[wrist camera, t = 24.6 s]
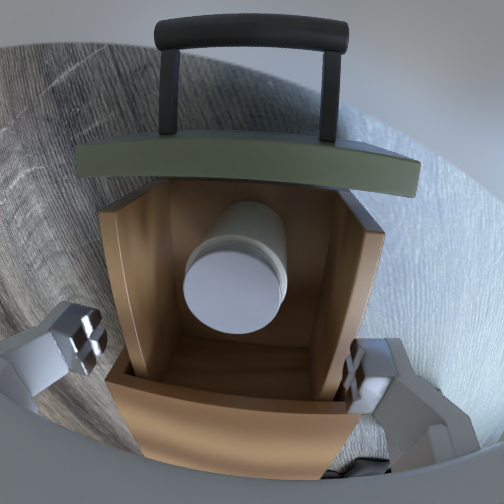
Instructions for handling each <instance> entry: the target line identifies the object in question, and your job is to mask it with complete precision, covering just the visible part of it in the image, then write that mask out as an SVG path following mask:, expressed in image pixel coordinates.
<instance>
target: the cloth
mask: <svg viewBox="0 0 504 504" xmlns="http://www.w3.org/2000/svg"><path fill="white" fill-rule="evenodd" d="M355 463H356V464H355V466H354V467H353V468H352V469H350V470H349V471H348V472H347V473H345V474H338V473H337V472H333V471H325V472H324V474H323V475H322V476H321V478H320V479H319V480H323V479H342V478H355V477H365V476H373V475H381V474H384V473H385V472H386V470H387V468H388V465H389V464H390V461H386V462H377V461H369V460H356V461H355ZM390 473H392V472H390Z"/></svg>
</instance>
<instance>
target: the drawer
mask: <svg viewBox="0 0 504 504" xmlns="http://www.w3.org/2000/svg"><path fill="white" fill-rule="evenodd" d="M154 41H155V45H156V47H157V49H158V50H159V51H161V67H160V87H159V131H150V132H144V133H137V134H131V135H125V136H119V137H114V138H109V139H104V140H99V141H94V142H89V143H85V144H80V145H77V146H76V147H75V158H76V172H77V177H78V178H89V177H123V176H161V177H159V178H158V179H155V180H153V181H151V182H149V183H148V184H146V185H144V186H142V187H140V188H138V189H137V190H135V191H133V192H131V193H129V194H128V195H126V196H124V197H122V198H121V199H119V200H117V201H115V202H114V203H112V204H110V205H109V206H107V207H105V208H104V209H102V210H100V211H99V212H98V216H99V223H100V230H101V237H102V243H103V249H104V254H105V260H106V265H107V270H108V275H109V280H110V285H111V289H112V294H113V298H114V302H115V306H116V310H117V314H118V318H119V322H120V326H121V329H122V333H123V336H124V340H125V343H126V347H127V350H128V353H129V357H130V360H131V363H132V366H133V369H134V372H135V375H136V377H139V378H143V379H147V380H151V381H156V382H160V383H165V384H170V385H175V386H180V387H185V388H191V389H196V390H202V391H209V392H215V393H222V394H230V395H238V396H246V397H256V398H267V399H279V400H296V401H329V402H332V401H333V399H334V397H335V394H336V392H337V389H338V387H339V384H340V382H341V379H342V371H343V365H344V362H345V359H346V357H347V356H349V355H350V354H351V353H350V348H349V347H350V344H351V342H352V340H353V339H354V338H357V336H358V333H359V330H360V327H361V323H362V320H363V317H364V314H365V311H366V308H367V304H368V301H369V297H370V294H371V290H372V287H373V283H374V280H375V276H376V272H377V268H378V264H379V260H380V256H381V252H382V248H383V244H384V239H385V232H384V231H383V230H382V228H381V227H380V226H379V225H378V223H377V222H376V221H375V220H374V218H373V217H372V216H371V215H370V214H369V212H368V211H367V210H366V209H365V208H364V207H363V205H362V204H361V203H360V202H359V201H358V200H357V198H356V197H355V196H354V195H353V194H352V193H351V191H350V190H349V189H354V190H362V191H369V192H376V193H383V194H390V195H396V196H402V197H408V198H415V196H416V190H417V185H418V179H419V173H420V166H421V163H420V162H419V161H417V160H414V159H411V158H409V157H406V156H403V155H400V154H397V153H395V152H392V151H389V150H386V149H383V148H380V147H376V146H373V145H370V144H367V143H363V142H357V141H350V140H343V139H336V134H337V122H338V108H339V92H340V72H341V55H343V54H345V53H346V51H347V48H348V42H349V27H348V24H347V23H346V22H344V21H338V20H332V19H325V18H316V17H307V16H298V15H285V14H259V13H258V14H257V13H243V14H242V13H240V14H215V15H203V16H192V17H184V18H175V19H168V20H162V21H159V22H158V23H157V24H156V26H155V30H154ZM240 46H242V47H243V46H244V47H278V48H292V49H303V50H312V51H321V52H324V54H323V67H322V89H321V105H320V119H319V133H318V136H311V135H302V134H291V133H278V132H263V131H243V130H177V106H178V80H179V61H180V51H179V50H181V49H191V48H192V49H193V48H207V47H240ZM238 201H256V202H259V203H262V204H265V205H267V206H268V207H270V208H271V209H273V210H274V211H275V212H276V213H277V214H278V215H279V216H280V218H281V219H282V221H283V223H284V225H285V228H286V232H287V291H286V295H285V297H284V299H283V301H282V303H281V305H280V308H279V311H278V312H277V314H276V316H275V317H274V318H273V320H272V321H271V322H269V323H268V324H267V325H266V326H264V327H263V328H261V329H259V330H256V331H254V332H250V333H244V334H230V333H224V332H221V331H218V330H215V329H213V328H211V327H209V326H207V325H205V324H204V323H202V322H201V321H200V320H199V319H198V318H197V317H196V316H195V315H194V314H193V313H192V312H191V310H190V309H189V307H188V305H187V303H186V301H185V298H184V293H183V282H184V277H185V268H186V264H187V261H188V259H189V257H190V255H191V253H192V252H193V250H194V249H195V247H196V246H197V244H198V243H199V241H200V240H201V238H202V236H203V235H204V233H205V232H206V230H207V229H208V227H209V226H210V224H211V223H212V221H213V220H214V218H215V217H216V216H217V214H218V213H219V212H220V211H221V210H222V209H223V208H225V207H226V206H228V205H230V204H232V203H234V202H238Z"/></svg>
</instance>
